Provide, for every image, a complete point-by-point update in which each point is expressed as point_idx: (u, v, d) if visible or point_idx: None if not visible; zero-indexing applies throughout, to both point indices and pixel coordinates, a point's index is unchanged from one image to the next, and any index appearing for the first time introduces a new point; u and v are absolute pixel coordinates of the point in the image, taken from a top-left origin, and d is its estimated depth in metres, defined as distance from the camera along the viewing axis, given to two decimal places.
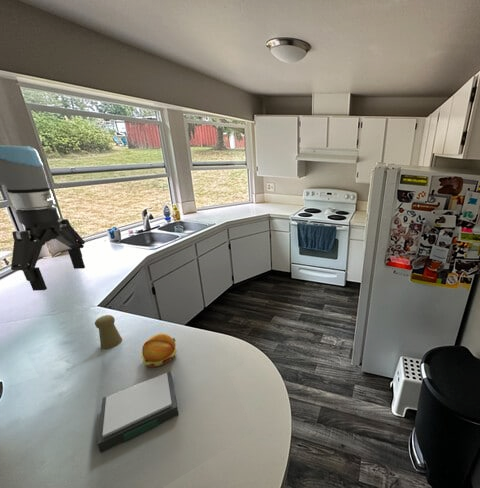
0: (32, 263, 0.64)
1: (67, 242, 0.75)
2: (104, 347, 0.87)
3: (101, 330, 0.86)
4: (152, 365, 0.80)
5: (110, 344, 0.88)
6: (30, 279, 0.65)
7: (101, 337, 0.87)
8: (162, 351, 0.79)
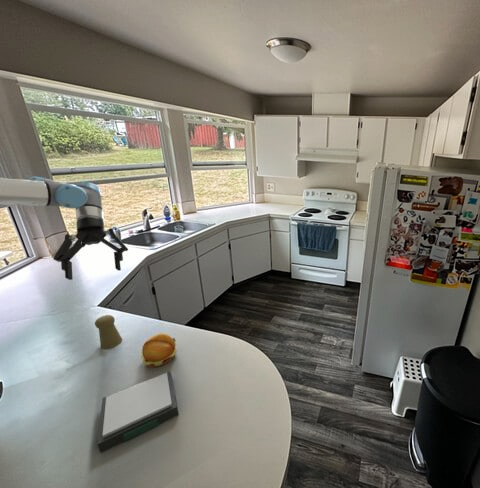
0: None
1: (75, 252, 0.89)
2: (104, 347, 0.87)
3: (101, 330, 0.86)
4: (152, 365, 0.80)
5: (110, 344, 0.88)
6: (122, 258, 0.93)
7: (101, 337, 0.87)
8: (162, 351, 0.79)
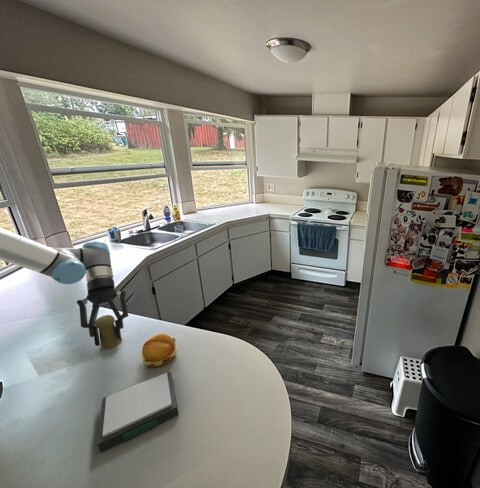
0: None
1: (96, 315, 0.88)
2: (104, 347, 0.87)
3: (101, 330, 0.86)
4: (152, 365, 0.80)
5: (110, 344, 0.88)
6: (123, 326, 0.90)
7: (101, 337, 0.87)
8: (162, 351, 0.79)
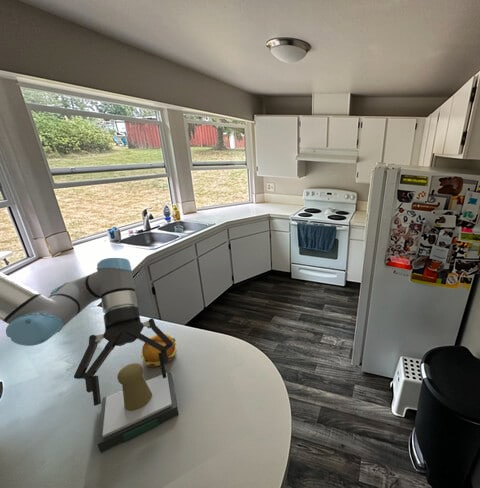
0: None
1: (103, 361, 0.63)
2: (129, 408, 0.64)
3: (126, 386, 0.62)
4: (152, 365, 0.80)
5: (138, 404, 0.64)
6: (168, 360, 0.69)
7: (126, 395, 0.63)
8: None
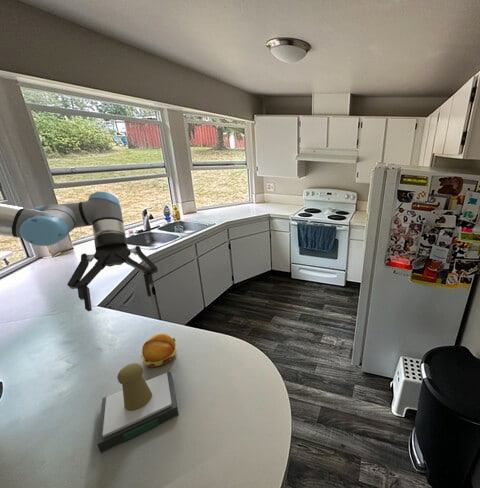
0: None
1: (93, 276, 0.71)
2: (129, 408, 0.64)
3: (126, 386, 0.62)
4: (152, 365, 0.80)
5: (138, 404, 0.64)
6: (152, 282, 0.77)
7: (126, 395, 0.63)
8: (162, 351, 0.79)
